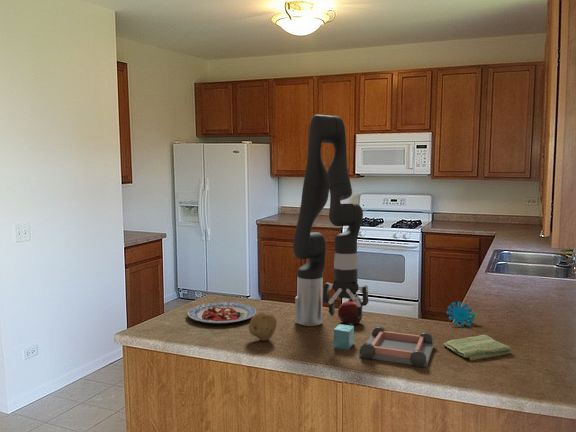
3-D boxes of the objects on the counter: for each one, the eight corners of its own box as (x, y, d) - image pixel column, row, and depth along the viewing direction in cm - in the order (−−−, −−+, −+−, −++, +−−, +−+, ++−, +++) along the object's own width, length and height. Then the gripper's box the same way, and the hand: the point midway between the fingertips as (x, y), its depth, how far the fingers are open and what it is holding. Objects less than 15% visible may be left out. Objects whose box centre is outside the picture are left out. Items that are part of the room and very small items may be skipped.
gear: (449, 323, 186) (447, 298, 192) (443, 330, 191) (441, 306, 197) (479, 327, 186) (476, 303, 192) (473, 334, 190) (470, 310, 197)
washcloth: (440, 347, 167) (440, 338, 167) (485, 342, 173) (486, 332, 172) (466, 363, 155) (466, 352, 155) (514, 356, 160) (515, 346, 160)
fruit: (350, 329, 184) (351, 301, 182) (332, 322, 191) (332, 296, 190) (368, 324, 189) (368, 297, 188) (349, 317, 197) (349, 292, 195)
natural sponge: (251, 346, 166) (251, 316, 165) (246, 337, 174) (246, 308, 173) (279, 344, 168) (279, 314, 167) (272, 335, 177) (272, 306, 176)
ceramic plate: (175, 324, 188) (175, 316, 187) (204, 305, 213) (203, 298, 212) (243, 330, 182) (243, 322, 181) (264, 310, 207) (264, 303, 206)
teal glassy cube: (333, 347, 165) (333, 329, 165) (338, 341, 171) (339, 324, 170) (348, 350, 164) (349, 331, 163) (353, 343, 169) (353, 326, 169)
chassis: (358, 358, 157) (358, 344, 156) (372, 338, 174) (372, 325, 174) (426, 368, 150) (426, 353, 149) (433, 346, 167) (434, 333, 167)
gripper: (320, 267, 164) (320, 317, 165) (365, 270, 158) (364, 322, 160) (327, 263, 171) (327, 311, 172) (370, 265, 165) (370, 315, 167)
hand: (345, 316), depth 166 cm, fingers open, 8 cm apart
